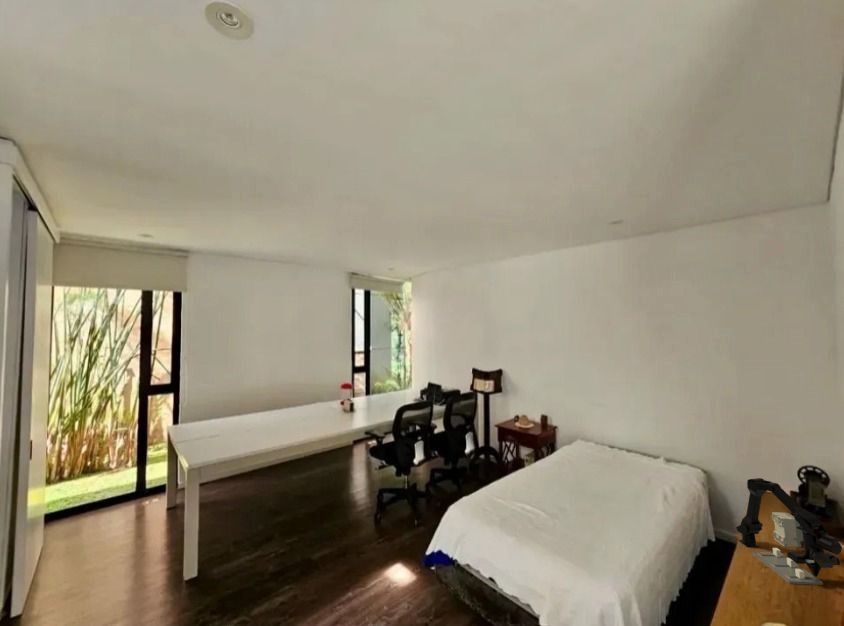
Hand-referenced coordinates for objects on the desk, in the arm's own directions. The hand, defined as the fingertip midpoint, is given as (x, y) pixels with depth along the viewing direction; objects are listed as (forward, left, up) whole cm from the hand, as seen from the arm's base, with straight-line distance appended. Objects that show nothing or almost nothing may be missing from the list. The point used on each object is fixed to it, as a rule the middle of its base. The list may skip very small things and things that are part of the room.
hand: (815, 576), depth 178 cm
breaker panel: (-9, -6, -2) cm, 11 cm away
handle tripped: (0, -6, -1) cm, 6 cm away
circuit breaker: (-33, +16, -2) cm, 37 cm away
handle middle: (-9, -3, -1) cm, 10 cm away
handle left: (-18, -3, -1) cm, 18 cm away
